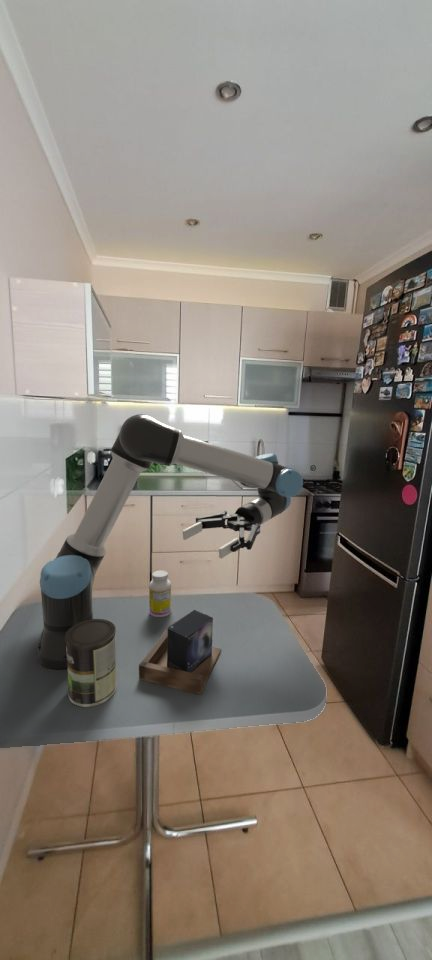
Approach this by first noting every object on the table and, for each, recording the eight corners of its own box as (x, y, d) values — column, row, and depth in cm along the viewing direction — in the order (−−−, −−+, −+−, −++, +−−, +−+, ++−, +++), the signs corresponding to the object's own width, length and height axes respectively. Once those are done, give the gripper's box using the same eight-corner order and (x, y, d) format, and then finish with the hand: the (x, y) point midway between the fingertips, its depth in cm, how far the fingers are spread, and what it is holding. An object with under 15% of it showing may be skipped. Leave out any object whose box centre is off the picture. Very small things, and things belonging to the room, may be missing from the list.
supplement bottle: (153, 606, 117) (152, 568, 114) (173, 607, 116) (173, 569, 114) (146, 617, 110) (145, 577, 108) (168, 619, 109) (167, 579, 107)
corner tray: (139, 679, 84) (138, 665, 84) (168, 639, 99) (168, 627, 99) (200, 694, 80) (200, 680, 79) (220, 650, 95) (221, 638, 94)
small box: (186, 679, 84) (187, 637, 82) (165, 667, 87) (165, 627, 86) (213, 655, 92) (214, 616, 91) (193, 645, 96) (193, 608, 94)
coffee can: (69, 714, 74) (65, 651, 72) (67, 680, 84) (64, 623, 81) (120, 699, 78) (119, 639, 76) (114, 668, 88) (112, 614, 85)
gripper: (288, 540, 102) (237, 575, 88) (222, 513, 118) (171, 540, 104) (288, 515, 99) (237, 548, 85) (221, 492, 115) (169, 516, 101)
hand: (200, 544), depth 94 cm, fingers open, 13 cm apart
